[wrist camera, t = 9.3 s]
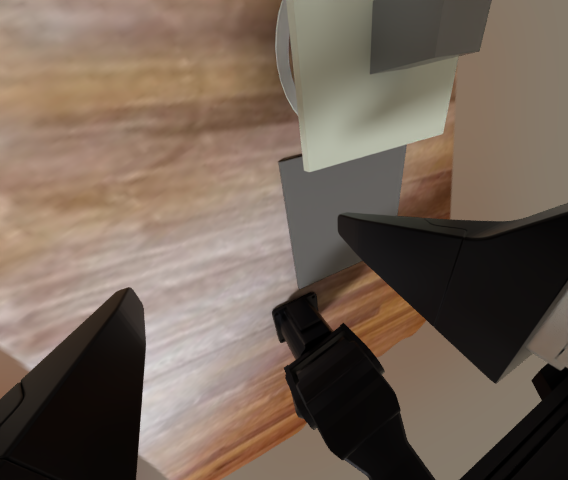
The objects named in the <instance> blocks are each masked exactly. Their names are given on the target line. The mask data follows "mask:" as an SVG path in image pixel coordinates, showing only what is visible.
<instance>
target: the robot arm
mask: <svg viewBox="0 0 568 480" xmlns="http://www.w3.org/2000/svg"><path fill="white" fill-rule="evenodd" d="M337 225H338V233H339V235H340V236H341V237H342V239H343V240H344V241H345V242H346V243H347V244H348V245H349V247H350V248H351V249H352V250H353V251H354V252H355V253H356V255H357V256H358V257H359V258H360V259H361V260H363V261H364V262H365V263H366V264H367V265H368V266H369V267H370V268H371V269H372V270H373V271H374V272H375V273H377V274H378V275H379V276H380V277H381V278H382V279H383V280H384V281H385V282H386V283H387V284H388V285H389V286H390V287H392V288H393V289H394V290H395V291H396V292H397V293H398V294H399V295H400V296H401V297H402V298H403V299H404V300H405V301H407V302H408V303H409V304H410V305H411V306H412V307H413V308H414V309H415V310H416V311H417V312H418V313H419V314H420V315H422V316H423V317H424V318H425V319H426V320H427V321H428V322H429V323H430V324H431V325H432V326H434V327H435V329H436V330H438V332H440V333H441V334H442V335H443V336H444V337H445V338H446V339H447V340H448V341H449V342H450V343H451V344H452V345H454V346H455V347H456V348H457V349H458V350H459V351H460V352H461V353H462V354H463V355H464V356H465V357H466V358H467V359H468V360H470V361H471V362H472V363H473V364H474V365H475V366H476V367H477V368H478V369H479V370H480V371H481V372H482V373H484V374H485V375H486V376H487V377H488V378H489V379H490V380H491V381H493V382H494V383H498V382H499V381H500V380H501V379H503V378H504V377H505V376H506V375H507V374H509V373H510V372H511V371H512V370H513V369H515V368H516V367H517V366H518V365H520V364H521V363H522V362H523V361H524V360H525V359H527V358H528V357H529V356H530V355H532V354H535V355H536V356H538V357H539V358H541V359H543V360H544V361H546V362H547V363H548V364H547V365H545V366H544V367H543V368H542V369H541V370H540V371H539V372H538V373H537V374H536V376H535V377H534V378H533V379H532V382H533V384H534V386H535V388H536V390H537V392H538V394H539V396H540V398H541V399H542V401H541V402H540V403H539V404H538V405H537V406H536V407H535V408H534V409H533V410H532V411H531V412H530V413H529V414H528V415H527V416H525V418H523V419H522V421H520V422H519V423H518V424H517V425H516V426H515V427H514V428H513V429H512V430H511V431H510V432H509V433H508V434H507V435H506V436H505V437H504V438H502V439H501V440H500V441H499V442H498V443H497V444H496V445H495V446H494V447H493V448H492V449H491V450H490V451H489V452H488V453H487V454H486V455H485V456H484V457H483V458H482V459H481V460H479V461H478V462H477V463H476V464H475V465H474V466H473V467H472V468H471V469H470V470H469V471H468V472H467V473H466V474H465V475H464V476H463V477H462V478H461V479H460V480H568V203H567V204H564V205H560V206H558V207H555V208H552V209H549V210H546V211H543V212H540V213H537V214H535V215H532V216H529V217H526V218H523V219H519V220H513V221H503V222H502V221H471V220H447V219H432V218H418V217H404V216H391V215H377V214H363V213H350V212H345V213H342V214H339V215H338V218H337ZM272 316H273V320H274V323H275V327H276V331H277V335H278V339H279V341H280V343H283V342H285V341H286V342H287V344H288V346H289V348H290V350H291V352H292V354H293V356H294V358H295V359H296V360H295V361H294V362H292V363H291V364H290V365H287V366H286V367H284V370H285V372H286V375H285V376H286V377H285V378H286V381H287V383H288V385H289V387H290V390H291V393H292V397H293V402H294V406H295V410H296V413H297V415H298V417H299V418H302V419H305V421H306V422H307V423H308V424H309V425H310V427H311V428H312V429H313V430H315V429H316V428H318V430H319V432H320V434H321V436H322V438H323V439H324V441H325V443H326V445H327V446H328V448H329V449H330V451H331V452H333V453H334V454H335V455H336V456H338V457H339V458H340V459H341V460H345V461H347V462H348V463H350V464H351V465H353V466H354V467H355V468H357V469H358V470H359V471H361V472H362V473H364V474H365V475H366V476H367V477H368V478H369V480H435V478H434V477H433V476H432V474H431V473H430V472H429V470H428V469H427V467H426V466H425V465H424V463H423V462H422V460H421V459H420V458H419V456H418V455H417V454H416V452H415V451H414V449H413V448H412V447H411V445H410V444H409V442H408V441H407V438H406V434H405V430H404V426H403V422H402V418H401V414H400V407H399V403H398V400H397V397H396V394H395V392H394V391H393V389H392V388H391V386H390V385H389V384H388V382H387V381H386V380H385V379H384V377H383V376H382V374H383V373H384V372H385V371H384V369H383V367H382V365H381V364H380V362H379V361H378V359H377V358H376V357H375V355H374V354H373V353H372V352H371V350H370V349H369V348H368V347H367V346H366V345H365V344H364V343H363V342H362V341H361V340H360V339H359V338H358V337H357V336H356V335H355V334H354V333H353V332H352V331H351V330H350V329H349V328H348V327H347V326H346V325H345V324H344V323H343V324H341V325H340V327H339V328H337V329H336V330H335V331H333V330H332V329H331V327H330V326H329V325H328V324H327V322H326V321H325V320H324V319H323V317H322V316H321V315H320V313H319V312H318V306H317V296H316V294H315V293H314V292H312V293H310V294H307V295H305V296H303V297H301V298H299V299H297V300H294V301H292V302H290V303H288V304H286V305H284V306H282V307H279V308H277V309H275V310H273V312H272ZM145 352H146V337H145V321H144V308H143V304H142V302H141V301H140V299H139V298H138V296H137V295H136V293H135V292H134V290H133V289H132V288H130V287H128V288H125V289H122V290H119V291H117V292H116V293H114V294H113V295H112V296H111V297H110V298H109V299H108V300H107V301H106V302H105V303H104V304H103V305H102V306H100V307H99V308H98V309H97V310H96V311H95V312H94V313H93V314H92V315H91V316H90V317H89V318H87V319H86V320H85V321H84V322H83V323H82V324H81V325H80V326H79V327H78V328H77V329H76V330H75V331H73V332H72V333H71V334H70V335H69V336H68V337H67V338H66V339H65V340H64V341H63V342H62V343H60V344H59V345H58V346H57V347H56V348H55V349H54V350H53V351H52V352H51V353H50V354H49V355H48V356H46V357H45V358H44V359H43V360H42V361H41V362H40V363H39V364H38V365H37V366H36V367H35V368H33V369H32V370H31V371H30V372H29V373H28V374H27V375H26V376H25V377H24V378H23V379H22V380H21V382H20V383H17V384H16V385H15V386H14V387H13V388H12V389H11V390H10V391H9V392H7V393H6V394H5V395H4V396H3V397H2V398H1V399H0V480H136V472H137V459H138V446H139V432H140V419H141V406H142V392H143V379H144V365H145Z"/></svg>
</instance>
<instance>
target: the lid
mask: <svg viewBox="0 0 568 480" xmlns="http://www.w3.org/2000/svg"><path fill="white" fill-rule="evenodd" d="M491 1H492V0H286V3H287V13H288V22H289V32H290V41H291V51H292V60H293V70H294V80H295V89H296V99H297V108H298V118H299V127H300V137H301V146H302V156H303V166H304V171H307V172H312V171H316V170H319V169H323V168H326V167H330V166H333V165H336V164H340V163H343V162H347V161H350V160H354V159H357V158H361V157H364V156H368V155H371V154H375V153H378V152H382V151H385V150H388V149H392V148H395V147H399V146H402V145H406V144H409V143H413V142H416V141H420V140H423V139H427V138H430V137H434V136H437V135H441V134H443V130H444V126H445V121H446V116H447V111H448V106H449V101H450V96H451V91H452V86H453V81H454V77H455V72H456V67H457V62H458V57H459V56H462V55H465V54H470V53H474V52H479V51H480V47H481V42H482V38H483V34H484V30H485V26H486V22H487V17H488V13H489V9H490V4H491Z"/></svg>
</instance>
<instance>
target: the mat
mask: <svg viewBox="0 0 568 480" xmlns="http://www.w3.org/2000/svg"><path fill="white" fill-rule="evenodd" d="M406 146H407V144H406V145H402V146H399V147H395V148H392V149H388V150H385V151H382V152H378V153H375V154H371V155H368V156H364V157H361V158H357V159H354V160H350V161H347V162H343V163H340V164H336V165H333V166H330V167H326V168H323V169H319V170H316V171H312V172H307V171H304V166H303V156H300V157H296V158H292V159H288V160H284V161H280V162H278V163H279V169H280V176H281V182H282V188H283V195H284V201H285V207H286V214H287V220H288V226H289V233H290V239H291V246H292V252H293V258H294V265H295V271H296V277H297V284H298V288H299V289H301V288H303V287H306V286H308V285H310V284H312V283H314V282H317V281H319V280H321V279H323V278H326V277H328V276H330V275H332V274H334V273H337V272H339V271H341V270H343V269H346V268H348V267H350V266H352V265H354V264H357V263H359V262H361V261H363V260H361V259H360V258H359V257H358V256H357V255H356V253H355V252H354V251H353V250H352V249H351V248H350V247H349V245H348V244H347V243H346V242H345V241H344V240H343V239H342V237H341V236H340V235H339V233H338V225H337V218H338V215H339V214H342V213H345V212H350V213H363V214H377V215H391V216H397V214H398V206H399V199H400V191H401V184H402V176H403V168H404V161H405V153H406Z"/></svg>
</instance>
